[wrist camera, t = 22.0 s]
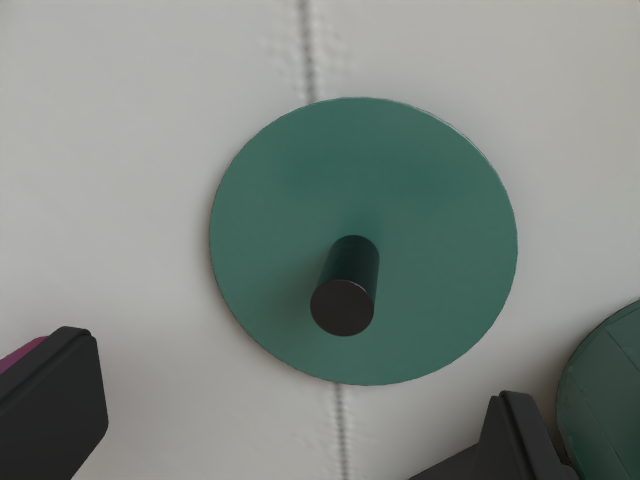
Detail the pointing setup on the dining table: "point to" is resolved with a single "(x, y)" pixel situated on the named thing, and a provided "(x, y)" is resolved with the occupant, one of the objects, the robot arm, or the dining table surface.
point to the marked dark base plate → (451, 467)
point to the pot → (604, 400)
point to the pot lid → (363, 241)
